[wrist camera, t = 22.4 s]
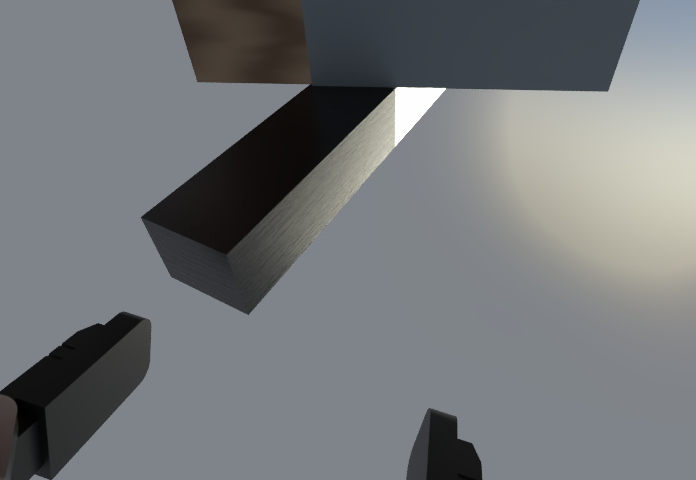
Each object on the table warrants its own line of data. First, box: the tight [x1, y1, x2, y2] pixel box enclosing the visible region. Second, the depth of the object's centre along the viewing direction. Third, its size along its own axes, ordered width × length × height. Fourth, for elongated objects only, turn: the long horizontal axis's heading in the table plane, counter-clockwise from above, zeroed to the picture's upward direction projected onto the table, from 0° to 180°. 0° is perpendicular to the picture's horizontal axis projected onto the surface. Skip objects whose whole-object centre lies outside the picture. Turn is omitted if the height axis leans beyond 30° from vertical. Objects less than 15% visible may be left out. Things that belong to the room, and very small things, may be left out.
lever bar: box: [141, 83, 446, 315], centre depth 20 cm, size 3×24×2 cm, turn 31°
